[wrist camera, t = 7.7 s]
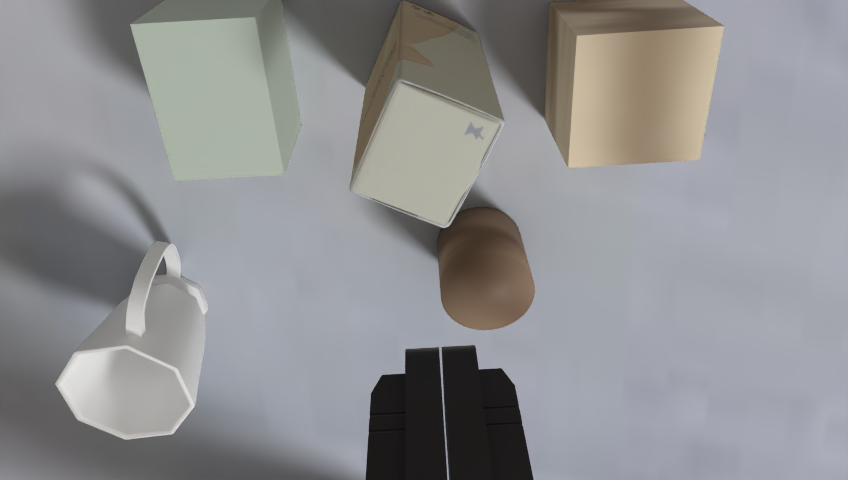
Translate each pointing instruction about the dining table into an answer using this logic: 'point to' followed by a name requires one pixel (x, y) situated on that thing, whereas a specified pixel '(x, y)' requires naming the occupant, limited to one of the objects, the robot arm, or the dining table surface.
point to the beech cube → (629, 80)
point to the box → (426, 117)
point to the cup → (142, 355)
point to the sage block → (220, 86)
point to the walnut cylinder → (484, 270)
